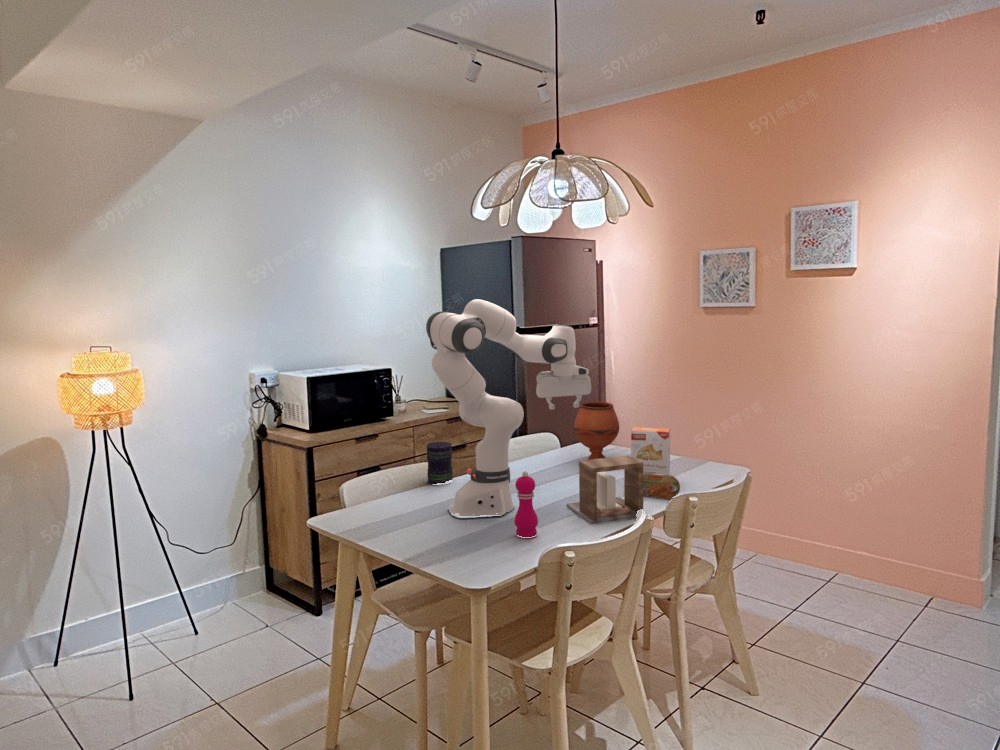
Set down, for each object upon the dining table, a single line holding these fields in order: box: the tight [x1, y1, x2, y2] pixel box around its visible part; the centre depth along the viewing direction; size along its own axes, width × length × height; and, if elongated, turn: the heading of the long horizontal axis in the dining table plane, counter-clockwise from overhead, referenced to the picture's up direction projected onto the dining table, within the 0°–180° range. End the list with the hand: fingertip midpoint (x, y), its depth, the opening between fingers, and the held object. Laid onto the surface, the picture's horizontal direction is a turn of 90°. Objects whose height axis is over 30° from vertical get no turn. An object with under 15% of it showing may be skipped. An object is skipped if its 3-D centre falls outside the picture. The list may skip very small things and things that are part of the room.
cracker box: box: [630, 426, 671, 475], centre depth 257 cm, size 14×6×21 cm, turn 71°
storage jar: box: [426, 441, 454, 486], centre depth 266 cm, size 10×10×15 cm
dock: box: [566, 455, 644, 525], centre depth 227 cm, size 20×19×18 cm
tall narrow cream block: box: [597, 471, 622, 511], centre depth 227 cm, size 8×9×12 cm
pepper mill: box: [513, 470, 539, 537], centre depth 207 cm, size 7×7×20 cm
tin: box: [643, 473, 681, 500], centre depth 241 cm, size 15×3×8 cm, turn 62°
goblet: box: [573, 400, 620, 460], centre depth 289 cm, size 19×19×25 cm
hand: (564, 408), depth 246 cm, fingers open, 8 cm apart
